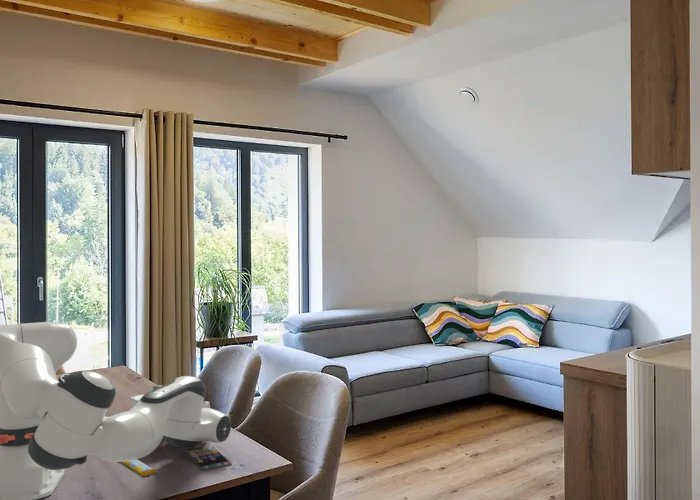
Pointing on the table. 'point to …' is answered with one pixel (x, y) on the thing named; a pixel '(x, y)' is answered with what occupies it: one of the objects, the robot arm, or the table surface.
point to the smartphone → (207, 458)
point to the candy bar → (139, 467)
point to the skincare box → (135, 400)
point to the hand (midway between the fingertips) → (157, 411)
